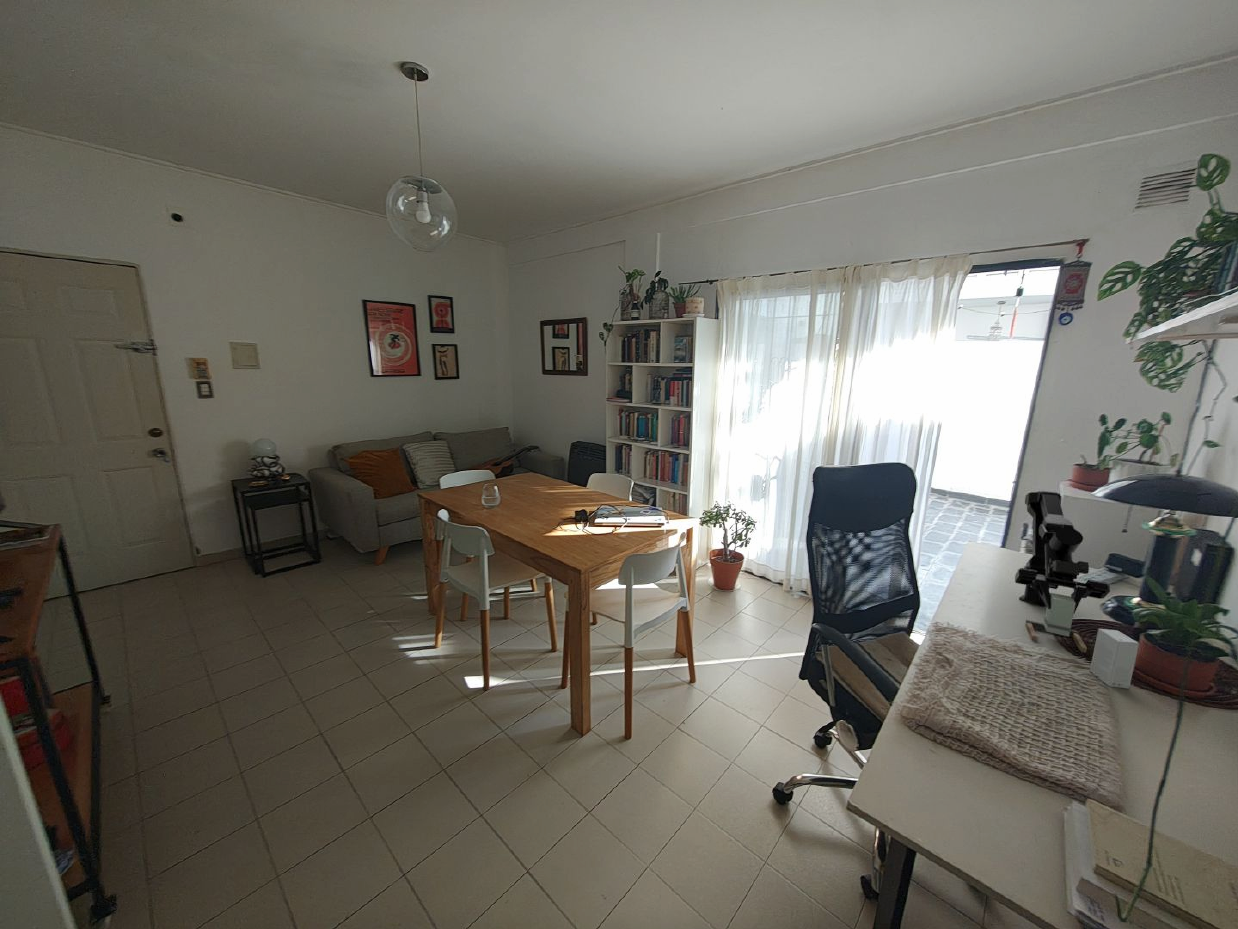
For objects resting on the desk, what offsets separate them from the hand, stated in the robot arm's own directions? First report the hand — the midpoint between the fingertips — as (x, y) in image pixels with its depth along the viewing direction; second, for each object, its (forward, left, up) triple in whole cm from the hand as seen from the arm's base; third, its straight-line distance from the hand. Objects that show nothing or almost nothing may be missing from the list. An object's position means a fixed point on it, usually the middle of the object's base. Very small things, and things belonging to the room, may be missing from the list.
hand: (1061, 611), depth 124 cm
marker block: (-1, -1, -7) cm, 7 cm away
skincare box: (+11, +13, -10) cm, 19 cm away
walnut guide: (-2, -1, -9) cm, 9 cm away
